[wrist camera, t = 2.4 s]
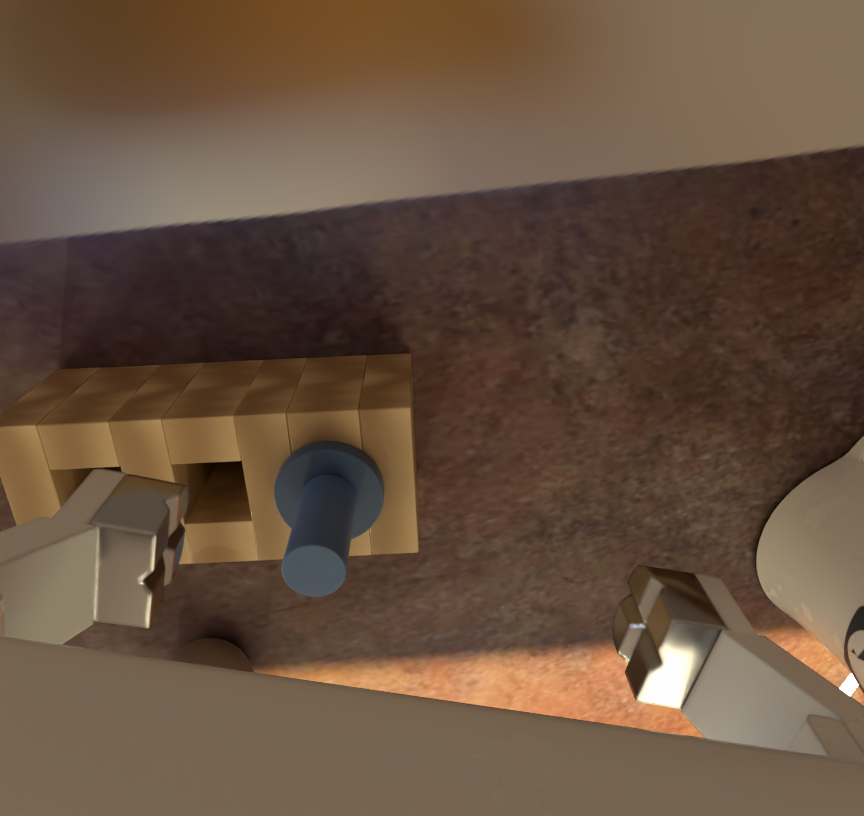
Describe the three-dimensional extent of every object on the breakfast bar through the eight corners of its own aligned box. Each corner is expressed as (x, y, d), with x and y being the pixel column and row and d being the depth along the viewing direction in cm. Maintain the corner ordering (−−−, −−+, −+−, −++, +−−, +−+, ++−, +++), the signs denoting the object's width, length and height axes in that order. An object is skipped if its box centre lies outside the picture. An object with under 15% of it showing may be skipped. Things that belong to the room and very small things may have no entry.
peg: (384, 391, 41) (373, 513, 29) (390, 474, 43) (383, 619, 31) (289, 395, 41) (238, 519, 29) (300, 478, 43) (258, 625, 31)
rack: (410, 352, 42) (410, 407, 35) (417, 479, 45) (418, 552, 38) (57, 369, 42) (-18, 427, 34) (93, 495, 45) (32, 571, 38)
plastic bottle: (241, 617, 50) (144, 919, 31) (273, 684, 52) (200, 999, 34) (157, 635, 50) (12, 944, 32) (192, 701, 53) (78, 1021, 35)
